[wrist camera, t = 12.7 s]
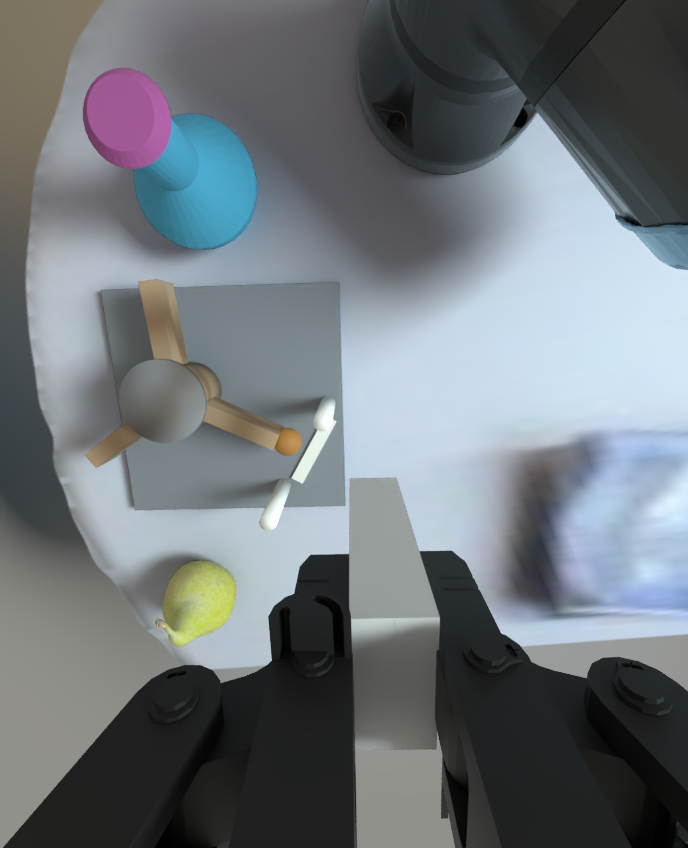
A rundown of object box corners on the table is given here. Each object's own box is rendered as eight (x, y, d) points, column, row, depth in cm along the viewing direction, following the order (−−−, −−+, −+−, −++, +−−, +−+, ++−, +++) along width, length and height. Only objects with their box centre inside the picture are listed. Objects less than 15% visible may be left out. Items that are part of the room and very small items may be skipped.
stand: (107, 290, 37) (32, 278, 29) (338, 283, 37) (335, 269, 28) (139, 506, 42) (84, 552, 33) (345, 501, 42) (344, 547, 33)
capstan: (115, 445, 39) (67, 469, 32) (169, 280, 36) (128, 269, 29) (273, 510, 40) (258, 545, 34) (339, 356, 37) (337, 362, 30)
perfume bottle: (180, 122, 34) (53, -31, 20) (283, 169, 35) (235, 54, 20) (148, 233, 36) (12, 168, 22) (247, 275, 37) (179, 240, 22)
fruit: (183, 605, 45) (124, 704, 33) (175, 542, 43) (110, 622, 31) (245, 605, 44) (208, 703, 33) (239, 542, 43) (198, 621, 31)
